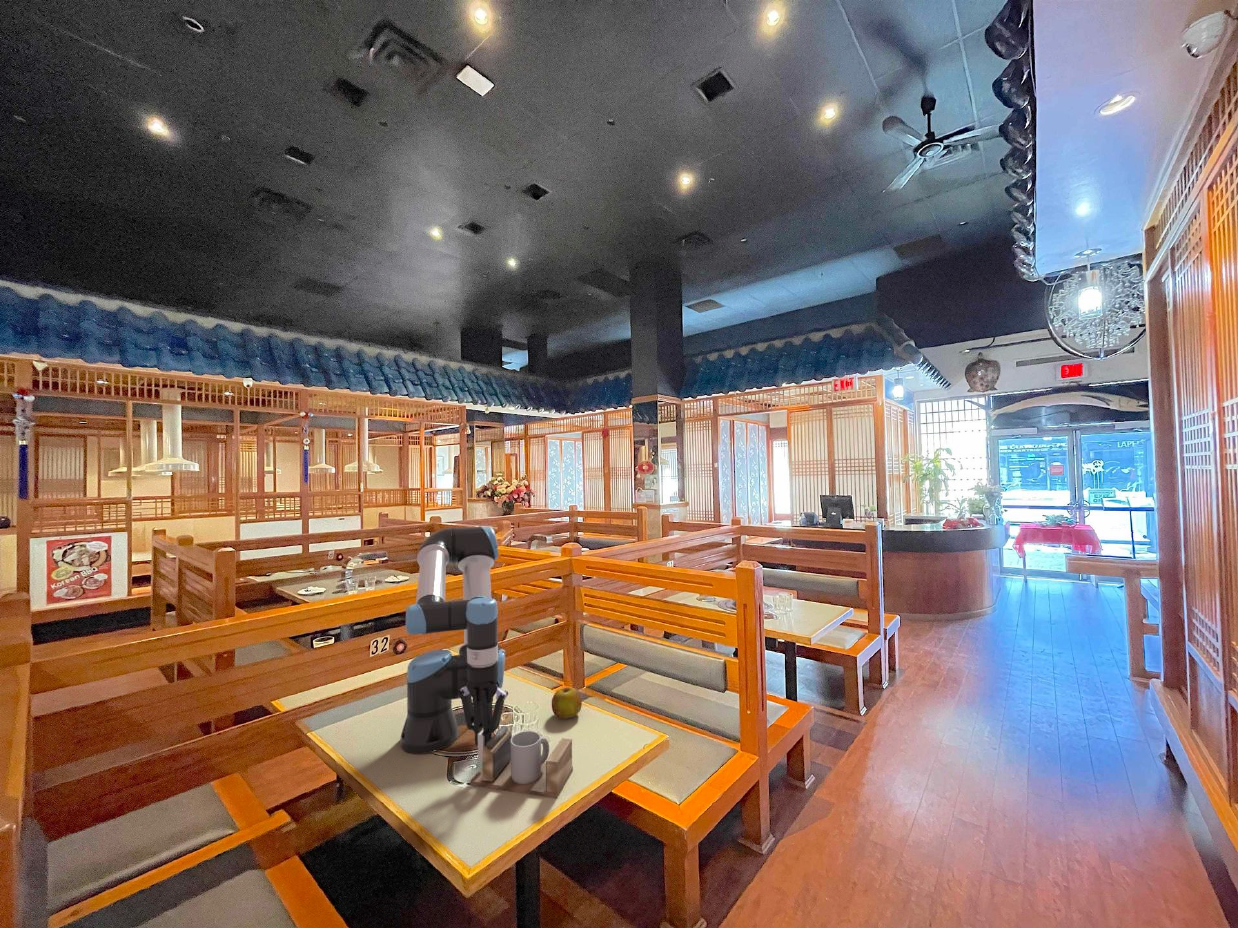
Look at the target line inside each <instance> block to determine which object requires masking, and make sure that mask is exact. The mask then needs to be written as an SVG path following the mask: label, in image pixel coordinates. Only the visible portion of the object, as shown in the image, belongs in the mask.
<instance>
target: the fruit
mask: <svg viewBox="0 0 1238 928" xmlns="http://www.w3.org/2000/svg"><path fill="white" fill-rule="evenodd" d="M580 694H581V693H580V692H579V691H578V690H577V689H575V688H574V687H570V686H568V687H563V688H561V689H559V690H557V691H556V692H555V693H554V694H553V696H552V699H551V710H552V712H553V714H554V716H555V717H557V718H558V719H563V720H564V719H569V718H572V717H574V716H576V715H578V714H579V713H580V711H581V709H582V706H583V701H582V696H581V695H580Z"/></svg>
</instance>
